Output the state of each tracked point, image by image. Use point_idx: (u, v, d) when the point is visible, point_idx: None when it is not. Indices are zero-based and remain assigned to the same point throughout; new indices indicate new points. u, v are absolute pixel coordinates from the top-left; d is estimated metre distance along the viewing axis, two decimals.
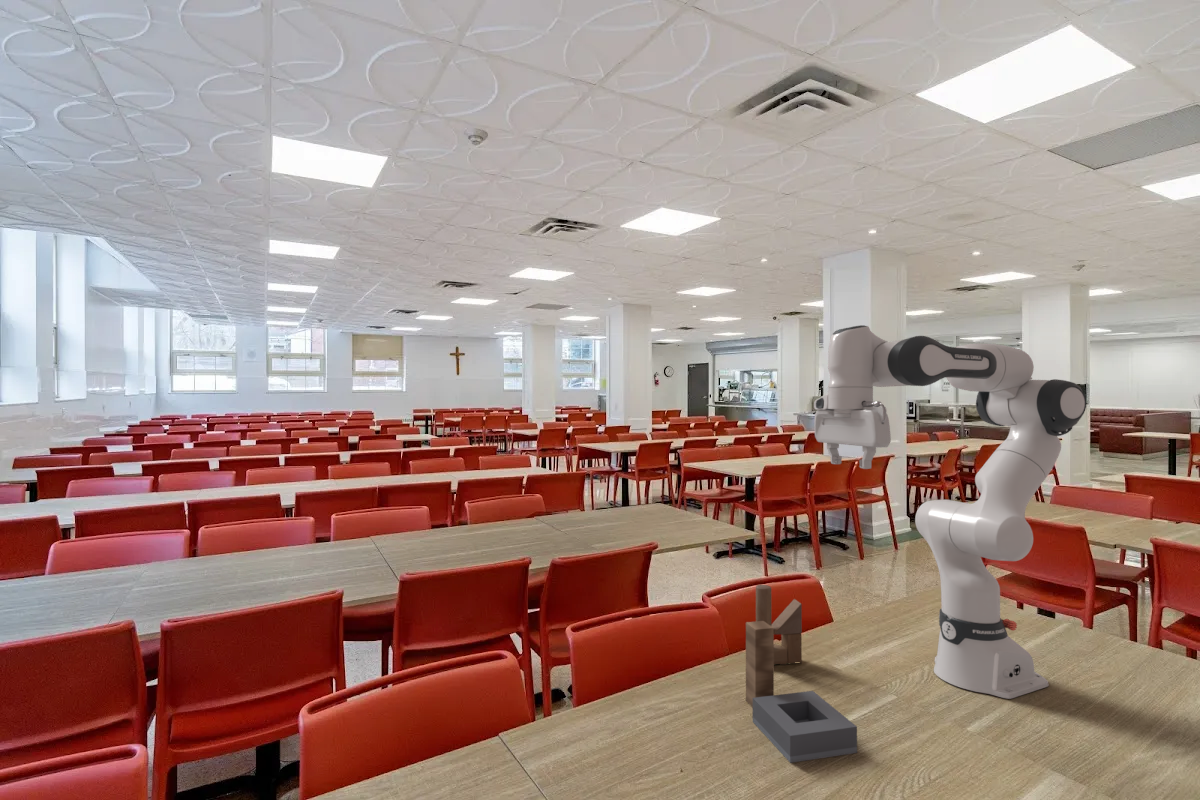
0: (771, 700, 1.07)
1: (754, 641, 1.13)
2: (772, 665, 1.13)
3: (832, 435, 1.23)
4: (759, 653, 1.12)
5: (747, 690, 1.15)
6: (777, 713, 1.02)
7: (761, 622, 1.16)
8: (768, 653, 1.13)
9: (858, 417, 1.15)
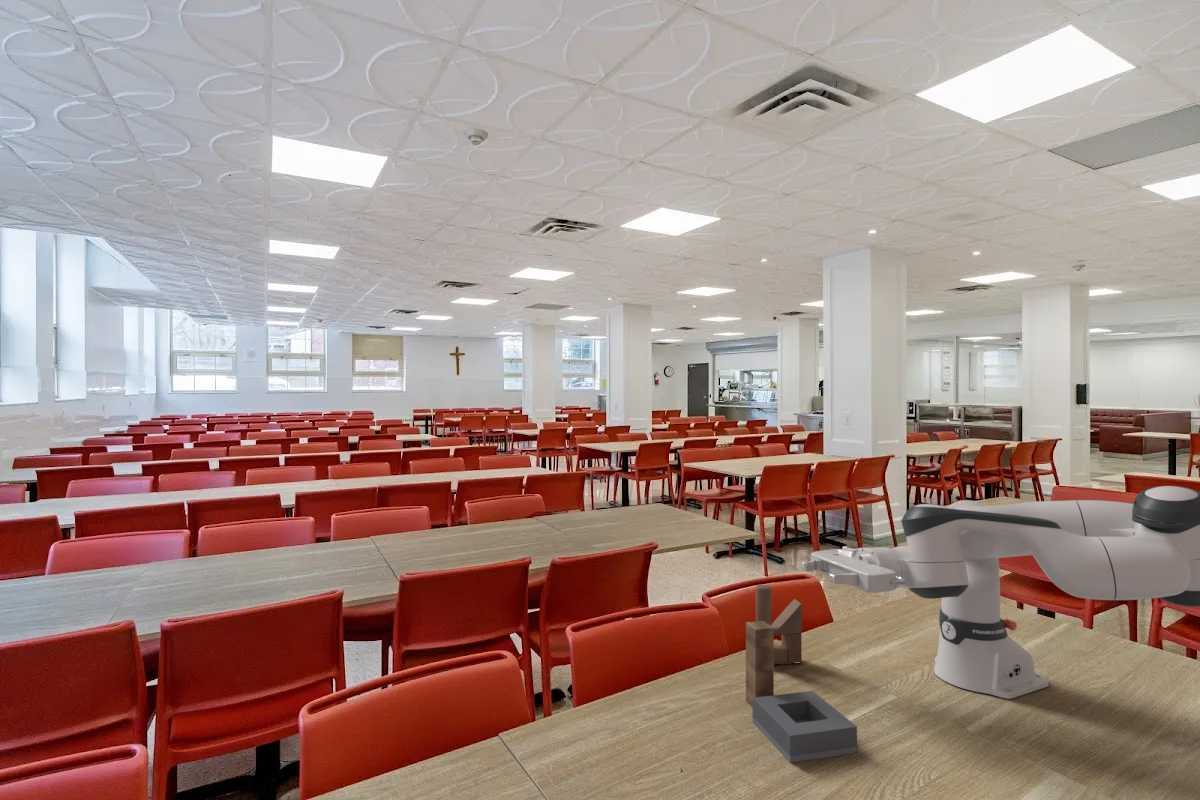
0: (771, 700, 1.07)
1: (754, 641, 1.13)
2: (772, 665, 1.13)
3: (833, 558, 1.22)
4: (759, 653, 1.12)
5: (747, 690, 1.15)
6: (777, 713, 1.02)
7: (761, 622, 1.16)
8: (768, 653, 1.13)
9: (877, 567, 1.15)
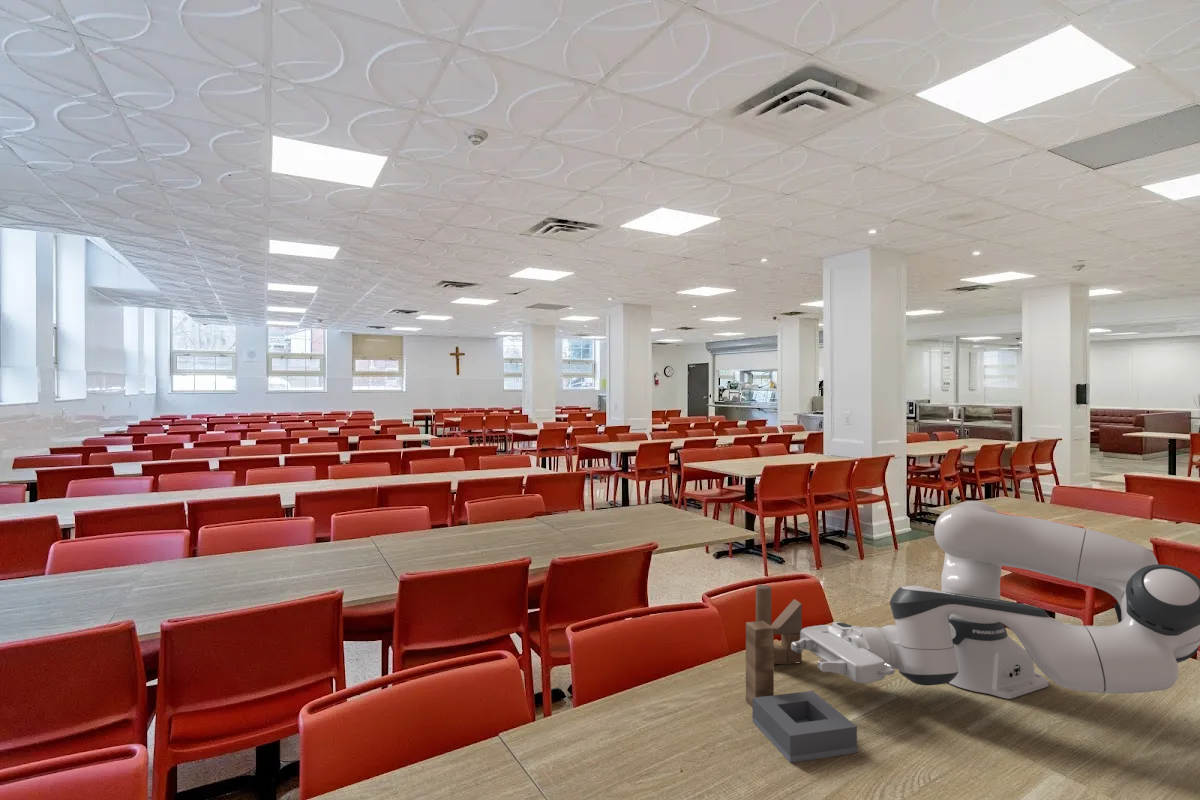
0: (771, 700, 1.07)
1: (754, 641, 1.13)
2: (772, 665, 1.13)
3: (823, 638, 1.21)
4: (759, 653, 1.12)
5: (747, 690, 1.15)
6: (777, 713, 1.02)
7: (761, 622, 1.16)
8: (768, 653, 1.13)
9: (866, 652, 1.14)
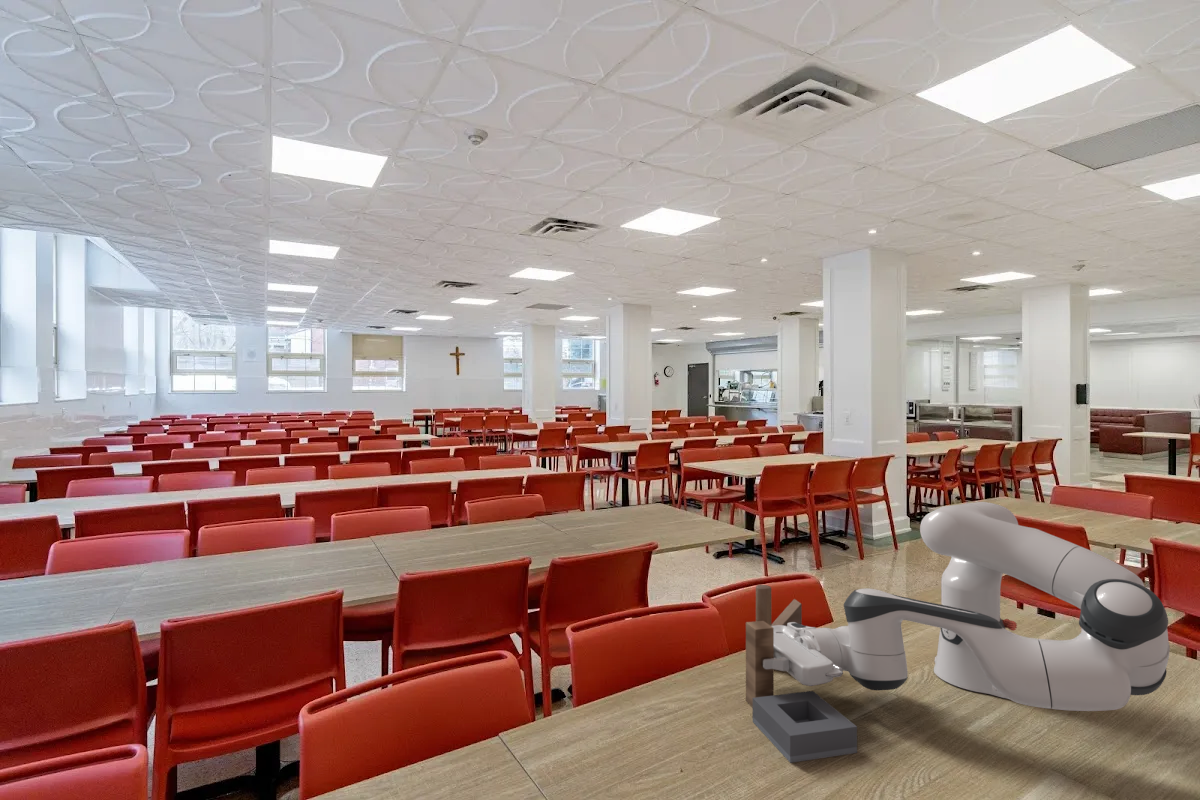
0: (771, 700, 1.07)
1: (754, 641, 1.13)
2: None
3: (775, 639, 1.19)
4: (759, 653, 1.12)
5: (747, 690, 1.15)
6: (777, 713, 1.02)
7: (761, 622, 1.16)
8: (768, 653, 1.13)
9: (815, 654, 1.12)
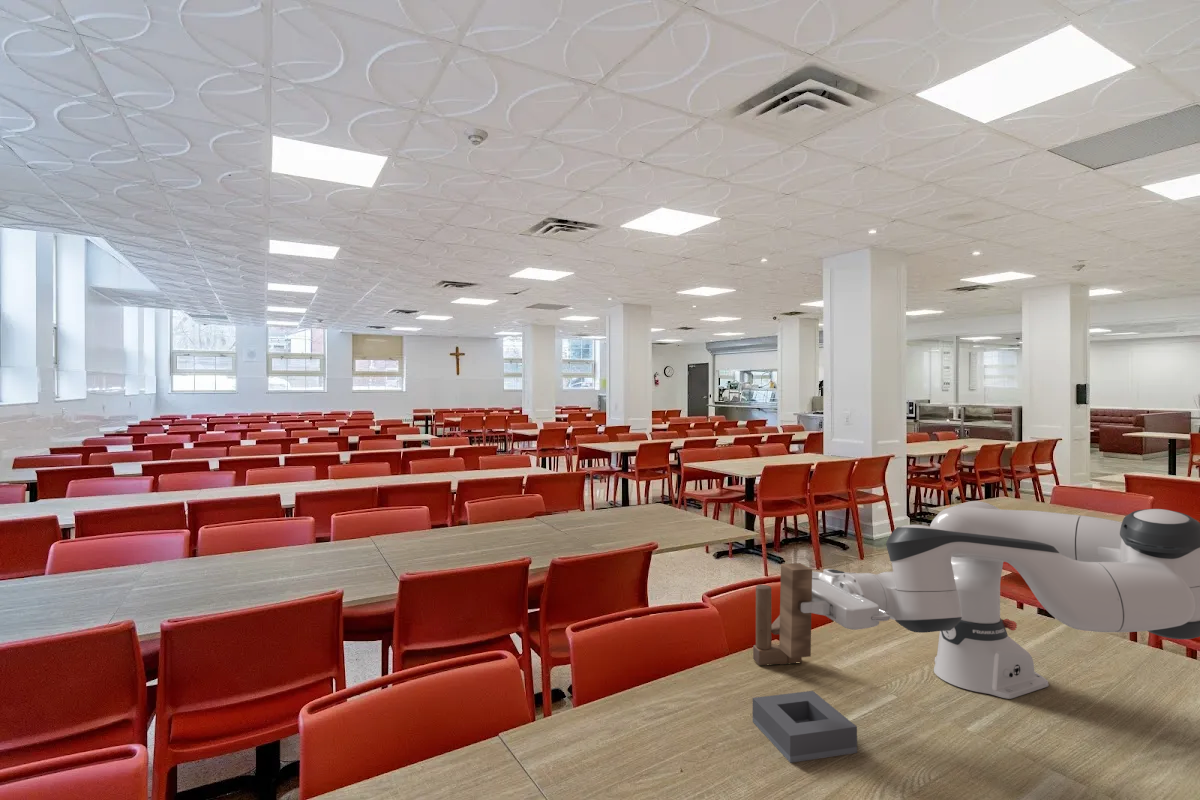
0: (771, 700, 1.07)
1: (791, 583, 1.03)
2: None
3: (812, 584, 1.09)
4: (796, 595, 1.03)
5: (781, 637, 1.06)
6: (777, 713, 1.02)
7: (797, 564, 1.06)
8: (806, 596, 1.03)
9: (858, 597, 1.02)
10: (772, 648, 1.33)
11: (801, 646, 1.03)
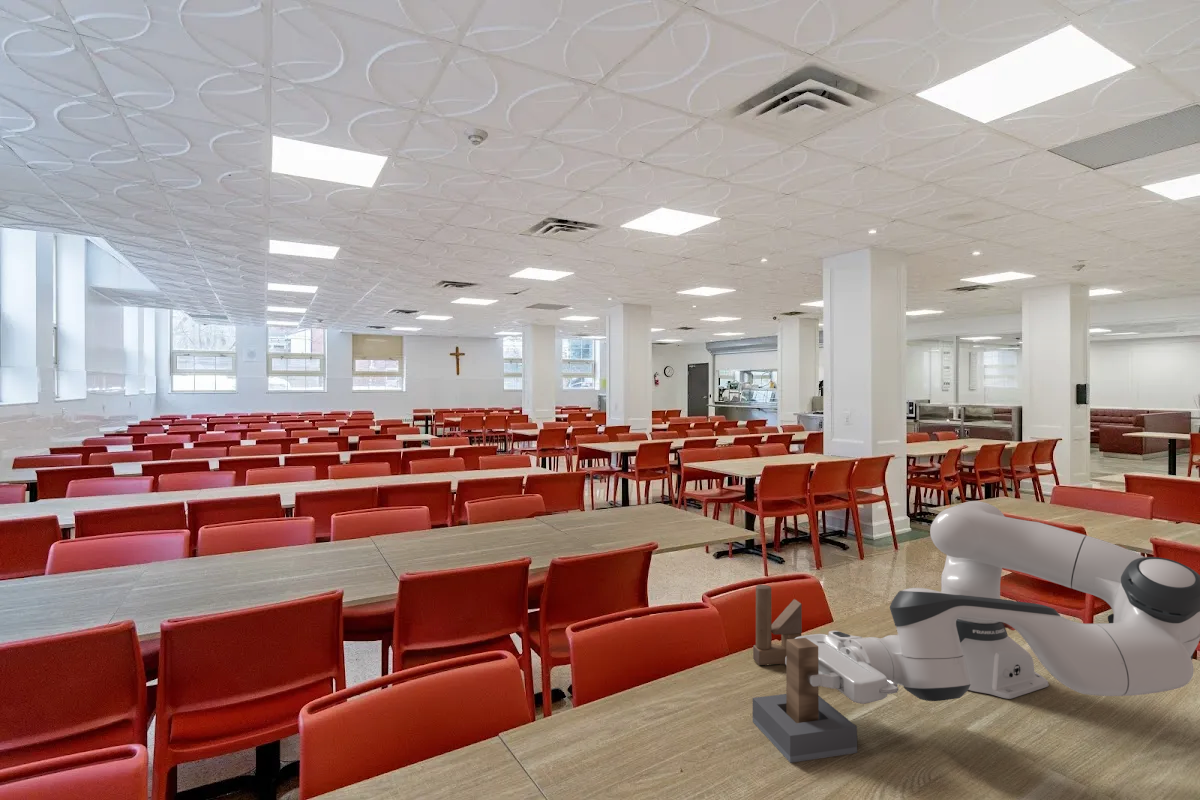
0: (771, 700, 1.07)
1: (797, 661, 1.01)
2: (817, 688, 1.02)
3: None
4: (803, 674, 1.01)
5: (788, 715, 1.04)
6: (777, 713, 1.02)
7: (803, 639, 1.05)
8: None
9: (866, 667, 1.01)
10: (772, 648, 1.33)
11: None
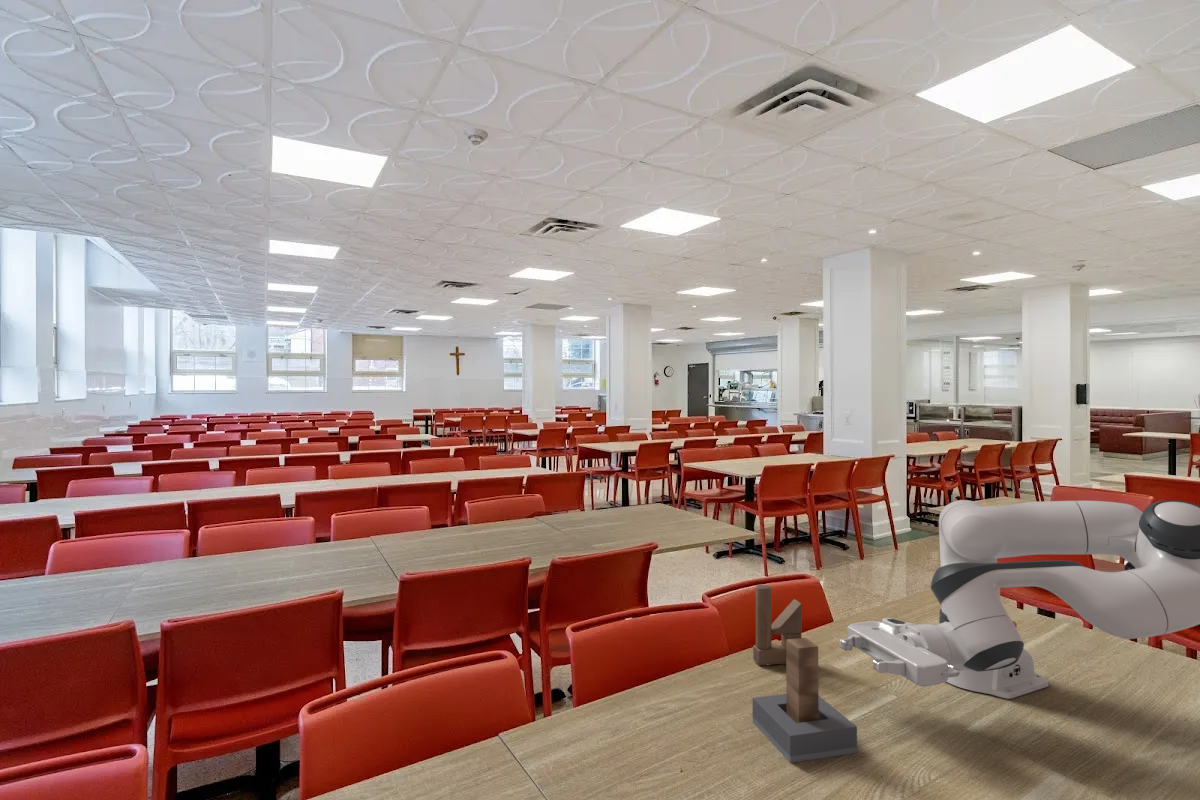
0: (771, 700, 1.07)
1: (797, 661, 1.01)
2: (817, 688, 1.02)
3: (874, 635, 1.11)
4: (803, 674, 1.01)
5: (788, 715, 1.04)
6: (777, 713, 1.02)
7: (803, 639, 1.05)
8: (813, 674, 1.01)
9: (925, 652, 1.04)
10: (772, 648, 1.33)
11: None
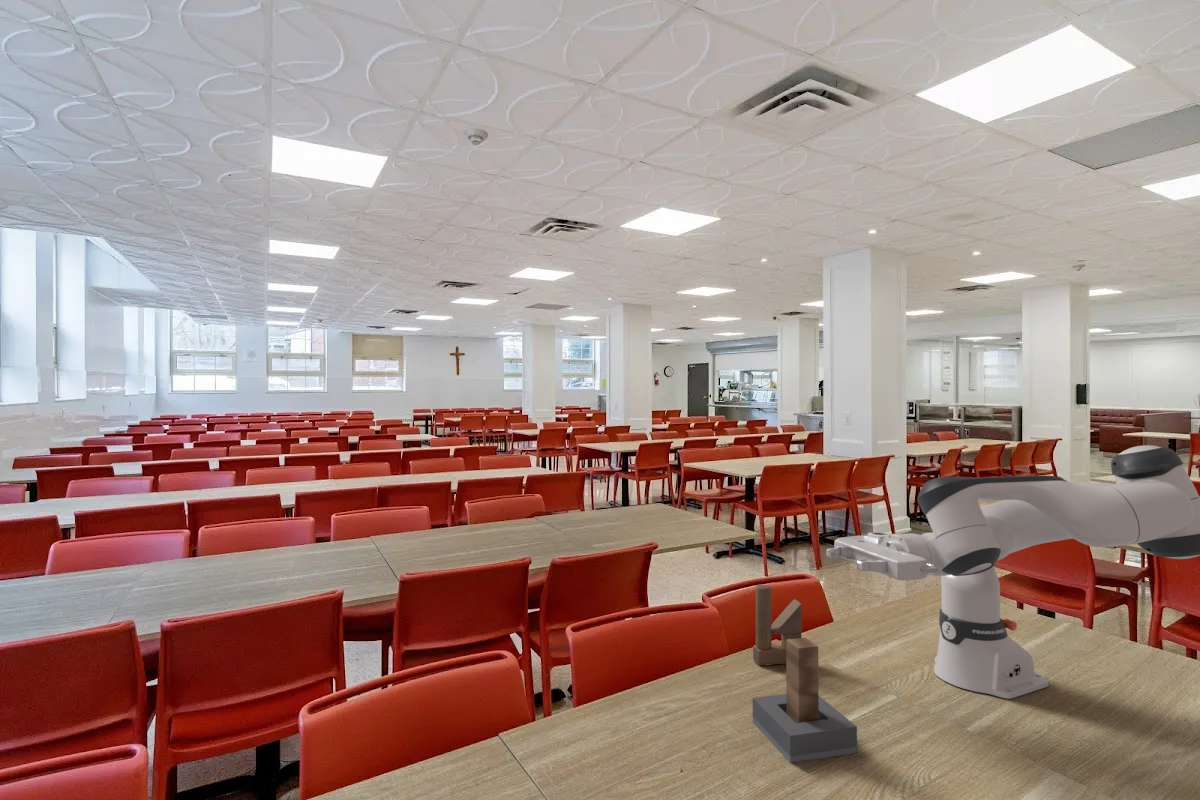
0: (771, 700, 1.07)
1: (797, 661, 1.01)
2: (817, 688, 1.02)
3: (859, 544, 1.17)
4: (803, 674, 1.01)
5: (788, 715, 1.04)
6: (777, 713, 1.02)
7: (803, 639, 1.05)
8: (813, 674, 1.01)
9: (906, 553, 1.10)
10: (772, 648, 1.33)
11: None
